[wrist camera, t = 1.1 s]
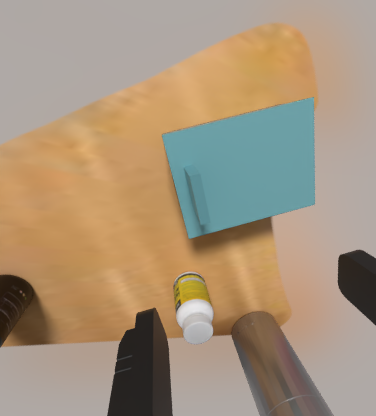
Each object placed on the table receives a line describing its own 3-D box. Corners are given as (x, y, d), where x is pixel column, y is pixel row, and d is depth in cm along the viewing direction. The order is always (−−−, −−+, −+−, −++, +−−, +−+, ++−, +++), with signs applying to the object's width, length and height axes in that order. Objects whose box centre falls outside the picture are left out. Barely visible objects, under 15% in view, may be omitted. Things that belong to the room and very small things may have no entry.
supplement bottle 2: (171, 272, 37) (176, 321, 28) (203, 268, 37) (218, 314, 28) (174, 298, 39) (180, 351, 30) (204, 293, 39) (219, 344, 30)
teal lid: (302, 99, 25) (348, 91, 19) (305, 199, 30) (342, 218, 24) (161, 134, 24) (163, 138, 18) (186, 231, 29) (195, 259, 23)
